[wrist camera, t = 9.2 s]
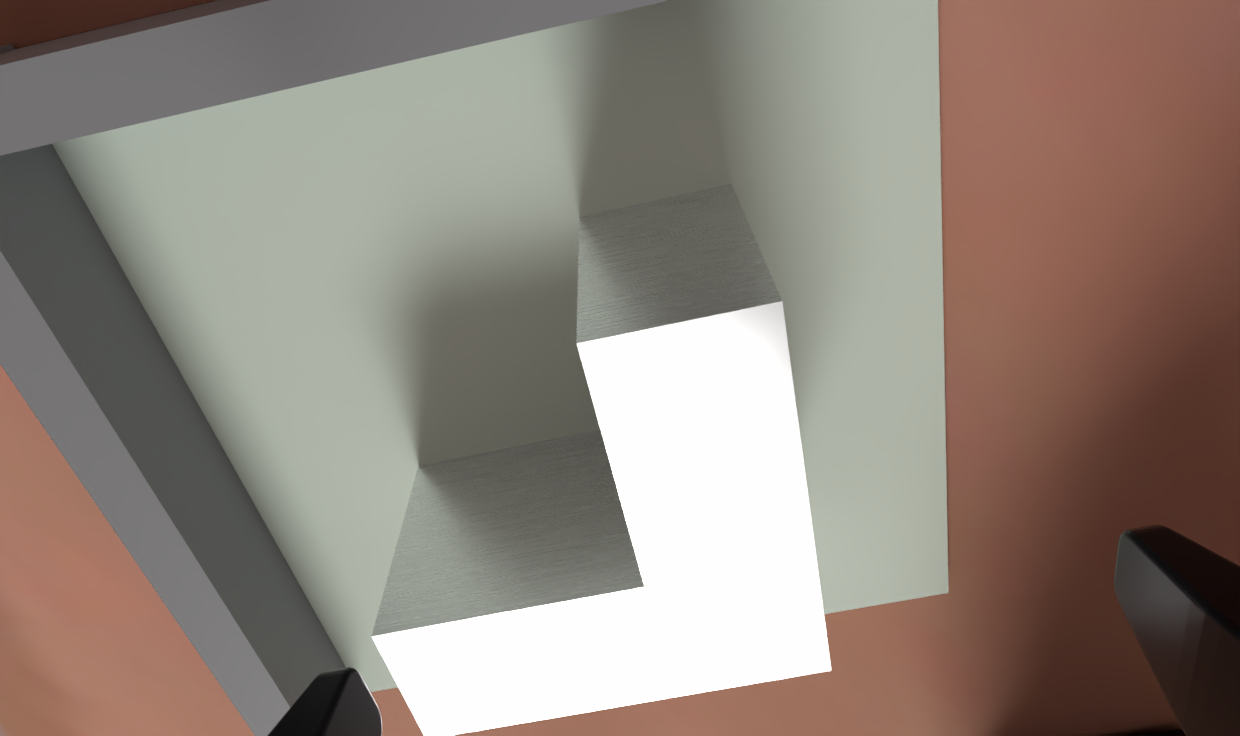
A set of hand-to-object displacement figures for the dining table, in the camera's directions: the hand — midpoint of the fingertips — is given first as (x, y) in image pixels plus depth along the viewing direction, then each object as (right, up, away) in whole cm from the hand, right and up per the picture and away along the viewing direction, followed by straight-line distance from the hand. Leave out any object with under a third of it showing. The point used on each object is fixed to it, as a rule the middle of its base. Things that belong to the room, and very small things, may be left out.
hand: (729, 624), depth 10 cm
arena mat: (-2, +2, +9) cm, 10 cm away
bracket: (-2, +2, +9) cm, 9 cm away
